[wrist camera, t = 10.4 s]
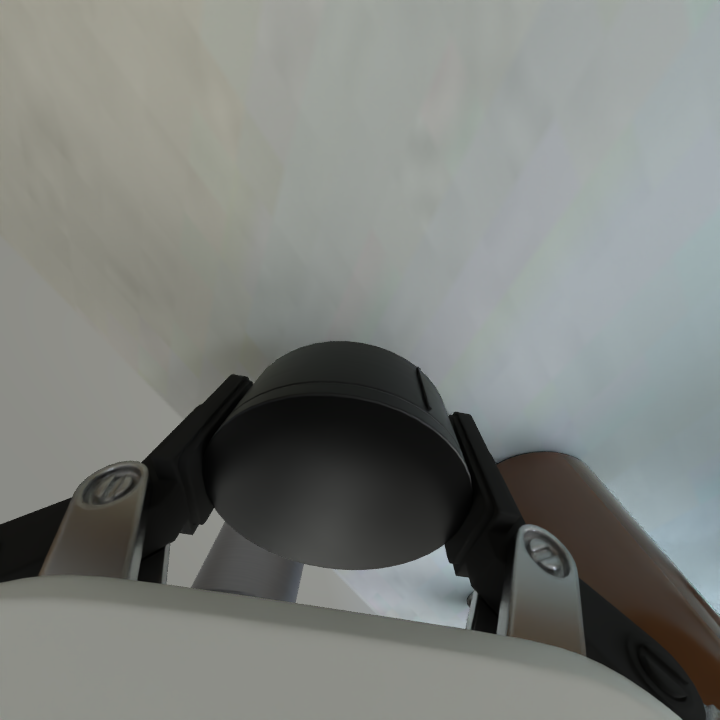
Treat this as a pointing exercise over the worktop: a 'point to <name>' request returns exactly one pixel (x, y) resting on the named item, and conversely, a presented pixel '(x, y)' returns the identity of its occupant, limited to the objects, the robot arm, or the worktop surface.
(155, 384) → the worktop surface
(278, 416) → the jar lid
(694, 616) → the jar
